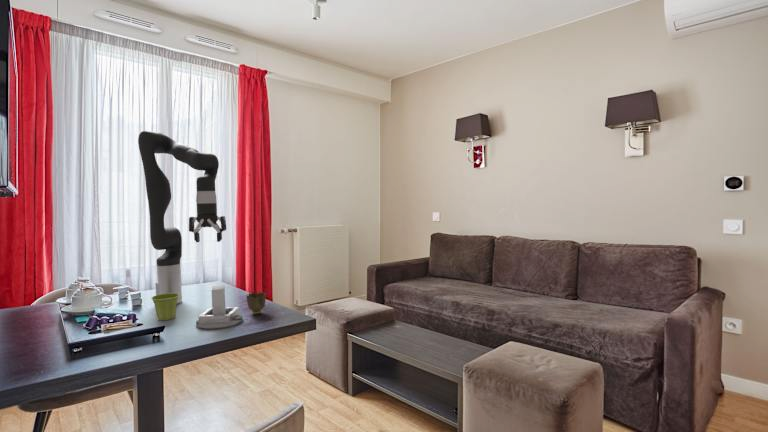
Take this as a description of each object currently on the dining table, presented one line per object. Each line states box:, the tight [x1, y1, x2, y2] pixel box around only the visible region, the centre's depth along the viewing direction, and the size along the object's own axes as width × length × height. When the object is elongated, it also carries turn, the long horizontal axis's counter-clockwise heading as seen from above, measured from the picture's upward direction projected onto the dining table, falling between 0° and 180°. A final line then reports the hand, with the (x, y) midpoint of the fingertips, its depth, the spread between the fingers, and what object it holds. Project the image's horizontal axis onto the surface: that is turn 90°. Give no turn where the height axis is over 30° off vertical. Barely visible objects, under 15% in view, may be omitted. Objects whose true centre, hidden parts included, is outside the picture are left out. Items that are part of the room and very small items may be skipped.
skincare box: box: [211, 285, 226, 315], centre depth 153 cm, size 6×4×12 cm
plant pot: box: [151, 293, 179, 321], centre depth 160 cm, size 9×9×9 cm
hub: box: [195, 306, 244, 331], centre depth 153 cm, size 16×16×4 cm
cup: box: [245, 291, 267, 316], centre depth 163 cm, size 8×7×8 cm
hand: (208, 241), depth 170 cm, fingers open, 8 cm apart
